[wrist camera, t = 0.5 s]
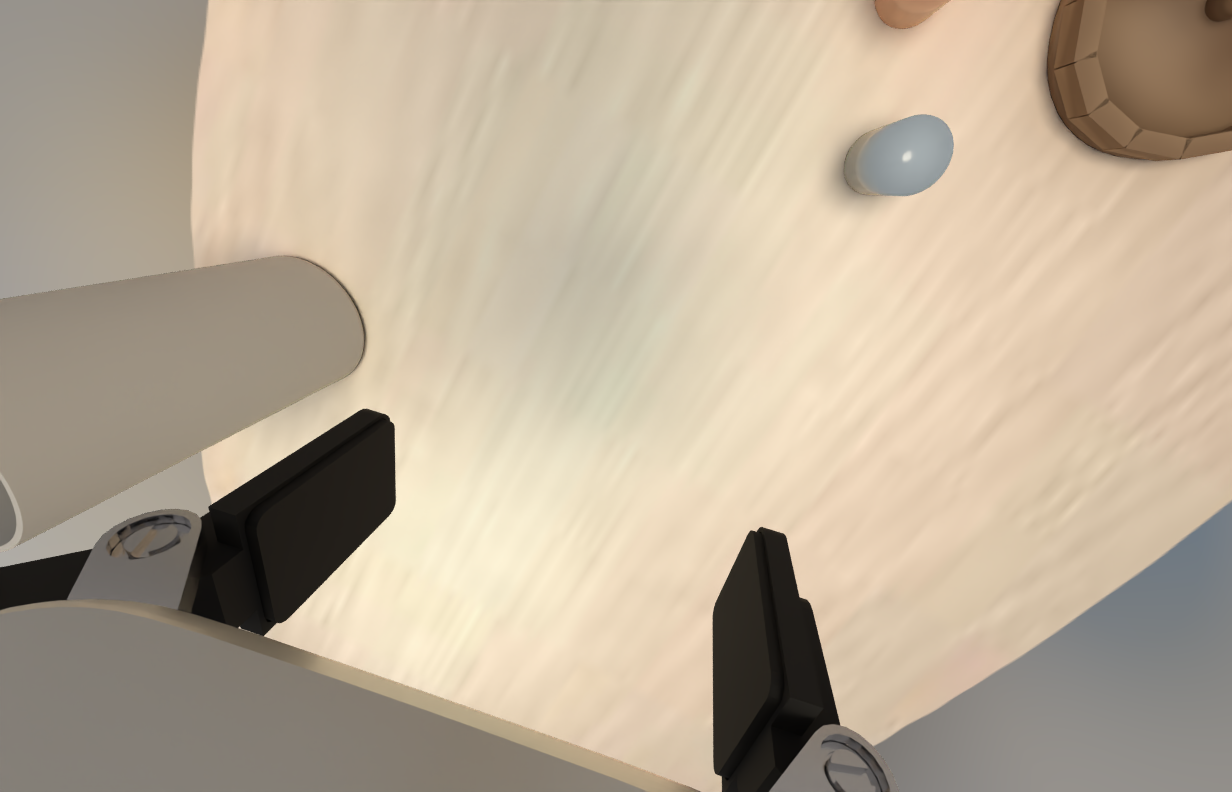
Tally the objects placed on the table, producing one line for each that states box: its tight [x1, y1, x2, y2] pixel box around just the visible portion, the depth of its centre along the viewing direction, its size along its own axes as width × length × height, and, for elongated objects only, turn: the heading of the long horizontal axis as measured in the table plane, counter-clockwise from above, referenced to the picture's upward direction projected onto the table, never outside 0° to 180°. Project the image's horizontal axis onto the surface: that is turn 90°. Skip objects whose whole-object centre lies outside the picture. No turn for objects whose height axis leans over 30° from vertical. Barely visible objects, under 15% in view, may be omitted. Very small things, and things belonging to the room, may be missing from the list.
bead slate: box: [844, 115, 954, 196], centre depth 27 cm, size 4×4×6 cm
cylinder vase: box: [0, 256, 364, 552], centre depth 33 cm, size 12×12×25 cm
